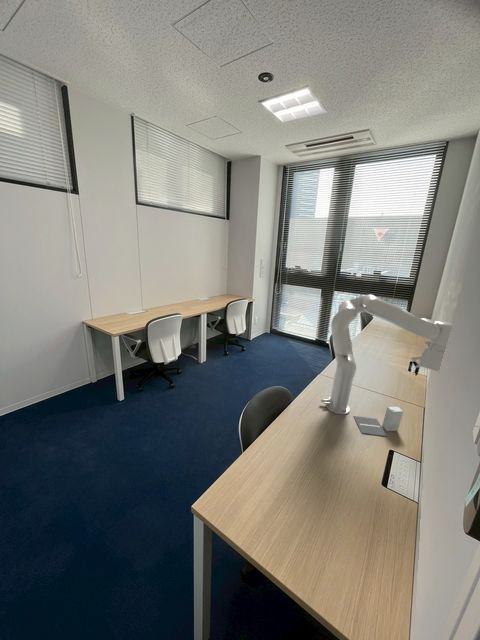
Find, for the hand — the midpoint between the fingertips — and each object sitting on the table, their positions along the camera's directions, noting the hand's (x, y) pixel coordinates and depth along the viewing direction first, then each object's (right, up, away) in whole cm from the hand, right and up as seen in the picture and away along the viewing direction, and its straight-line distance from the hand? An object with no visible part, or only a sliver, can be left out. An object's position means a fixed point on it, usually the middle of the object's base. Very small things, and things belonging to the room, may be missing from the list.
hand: (427, 378), depth 131 cm
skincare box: (-17, -27, +3) cm, 32 cm away
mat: (-27, -25, +4) cm, 38 cm away
